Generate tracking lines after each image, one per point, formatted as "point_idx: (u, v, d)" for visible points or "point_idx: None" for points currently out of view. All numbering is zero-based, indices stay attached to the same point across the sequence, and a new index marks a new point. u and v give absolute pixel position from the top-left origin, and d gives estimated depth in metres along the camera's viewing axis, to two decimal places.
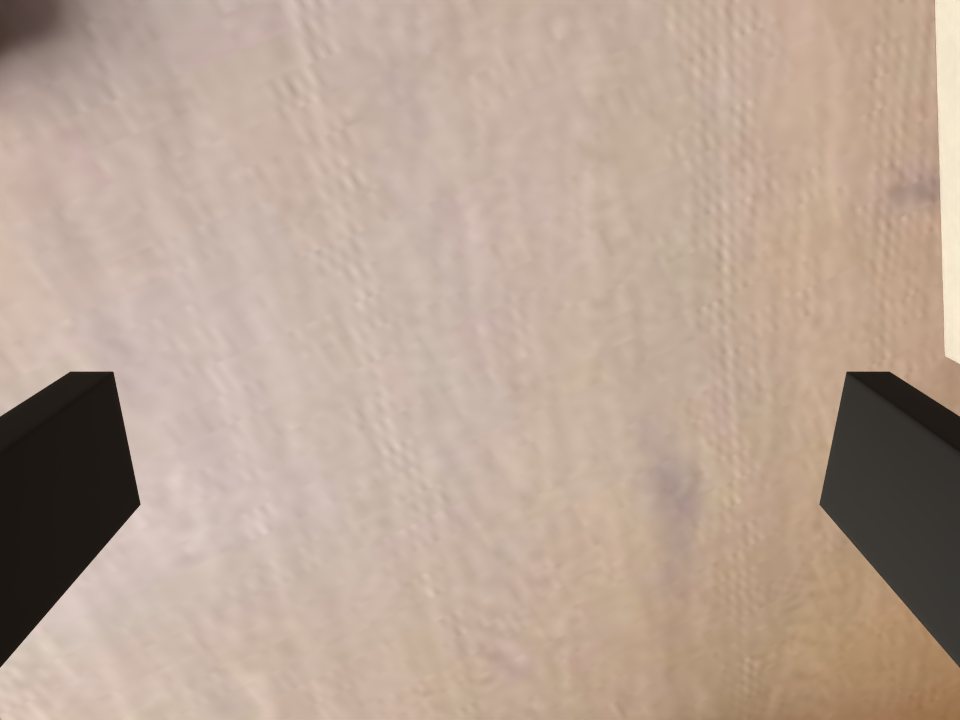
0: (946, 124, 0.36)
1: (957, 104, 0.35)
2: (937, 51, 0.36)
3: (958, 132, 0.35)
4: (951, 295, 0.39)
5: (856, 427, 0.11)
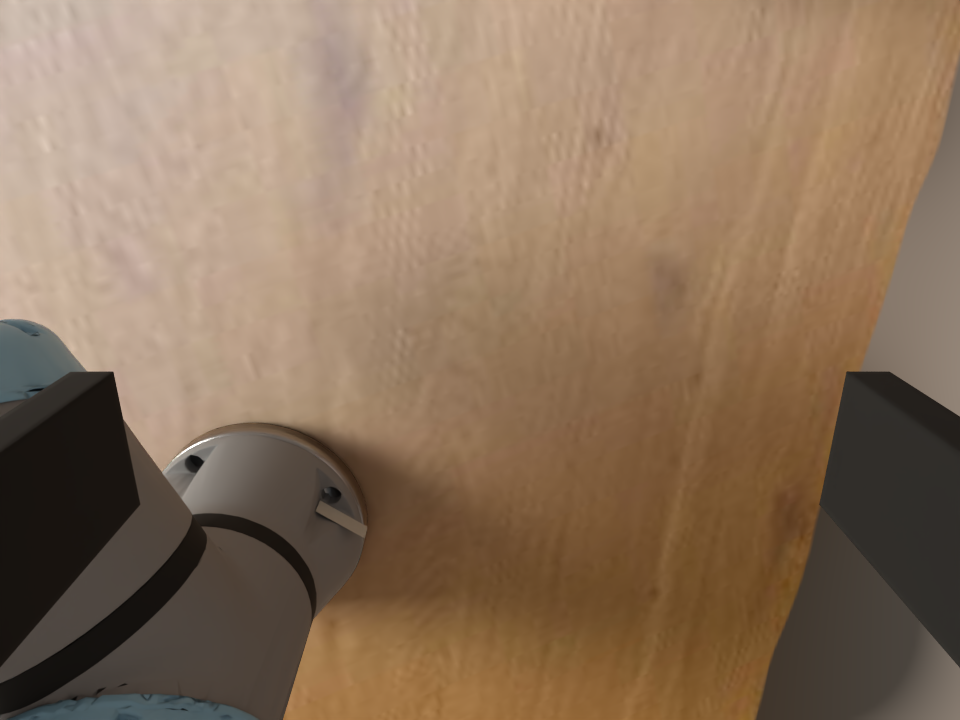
0: None
1: None
2: None
3: None
4: None
5: (856, 427, 0.11)
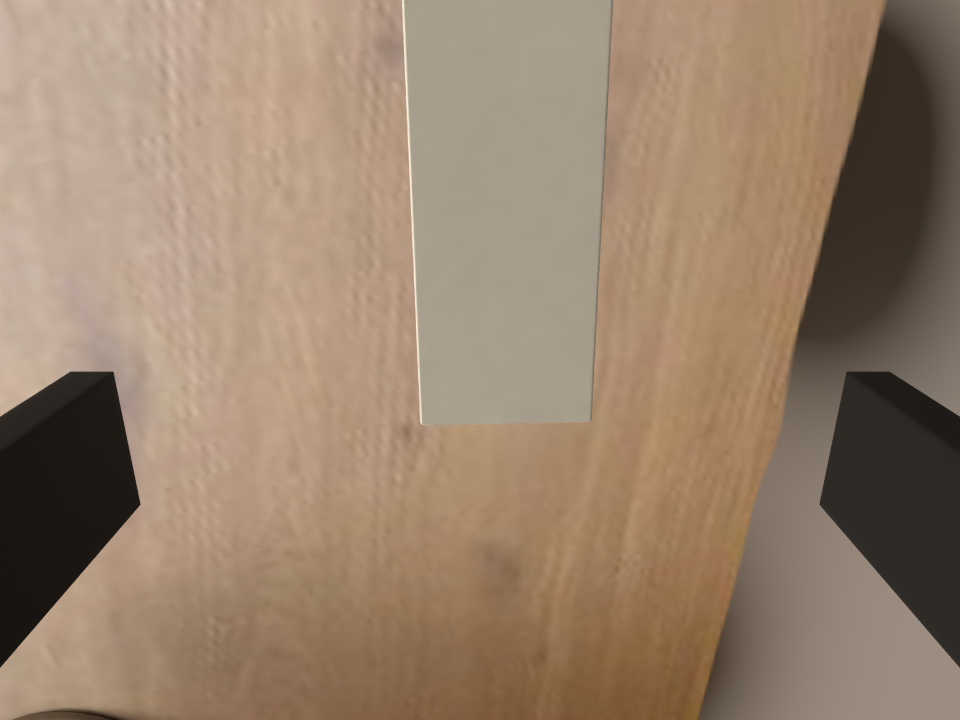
0: None
1: None
2: None
3: None
4: None
5: (856, 427, 0.11)
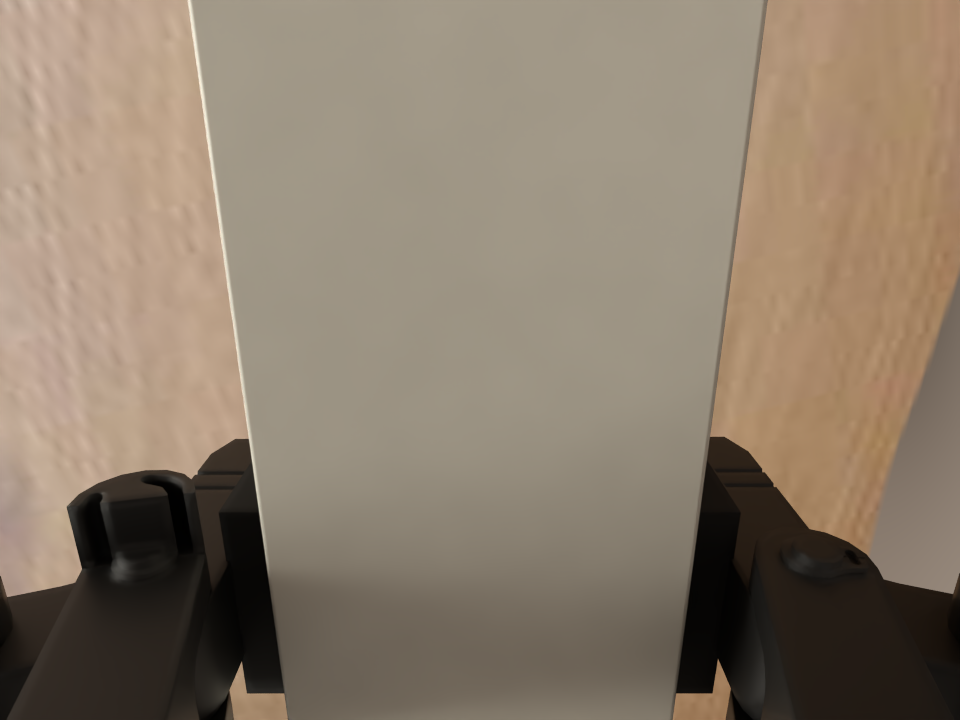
0: None
1: None
2: None
3: None
4: None
5: None
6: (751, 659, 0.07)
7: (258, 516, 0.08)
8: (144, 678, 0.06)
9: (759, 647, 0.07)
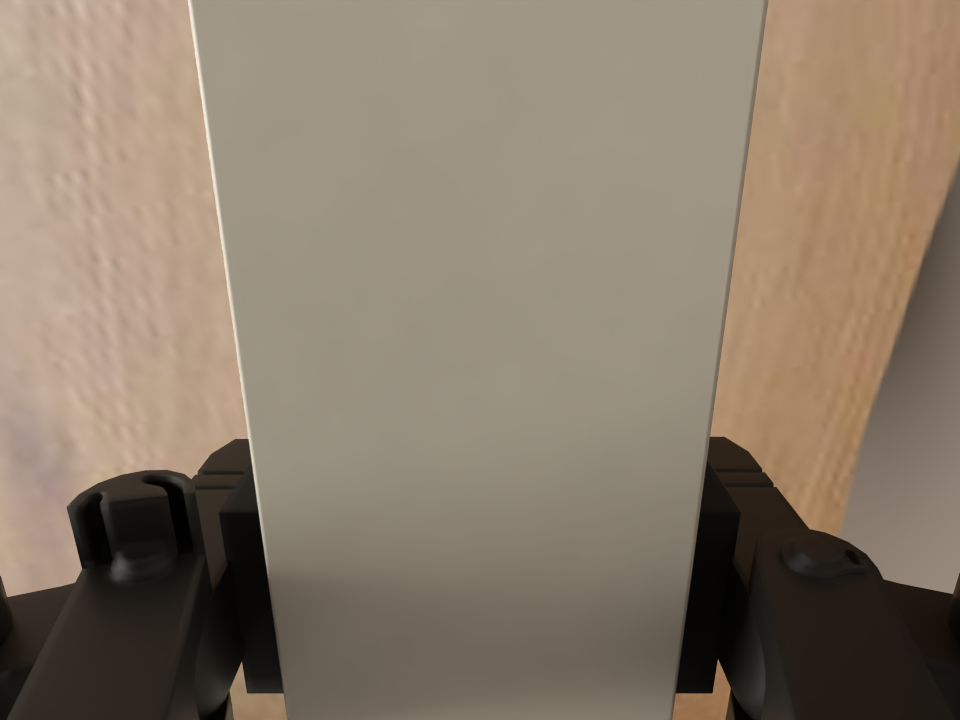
0: None
1: None
2: None
3: None
4: None
5: None
6: (751, 659, 0.07)
7: (258, 516, 0.08)
8: (144, 678, 0.06)
9: (759, 647, 0.07)
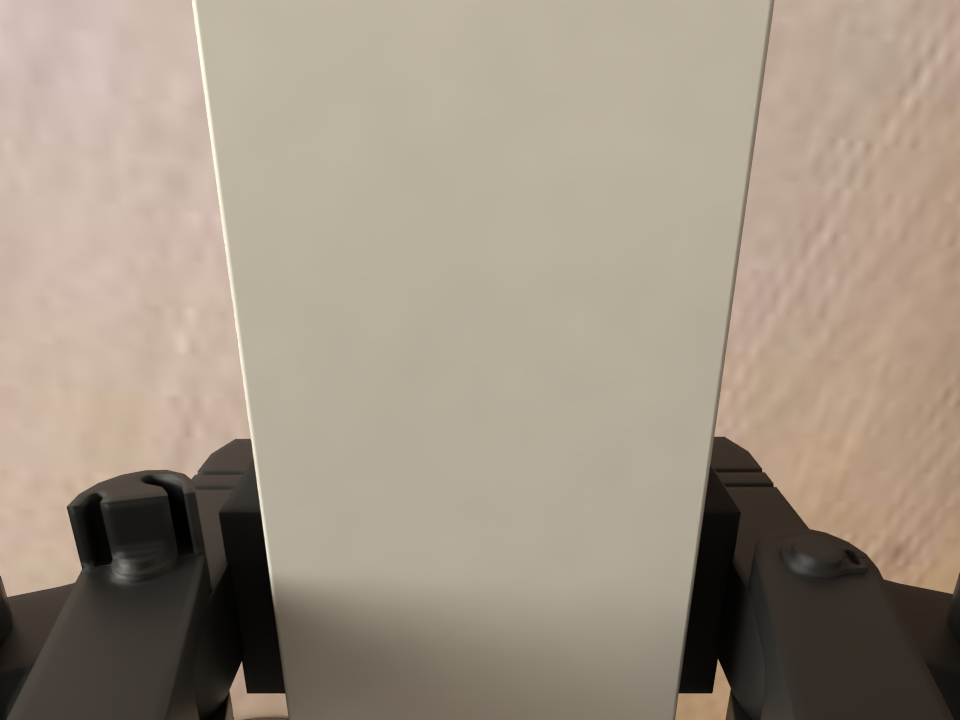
0: None
1: None
2: None
3: None
4: None
5: None
6: (751, 659, 0.07)
7: (258, 516, 0.08)
8: (144, 678, 0.06)
9: (759, 647, 0.07)
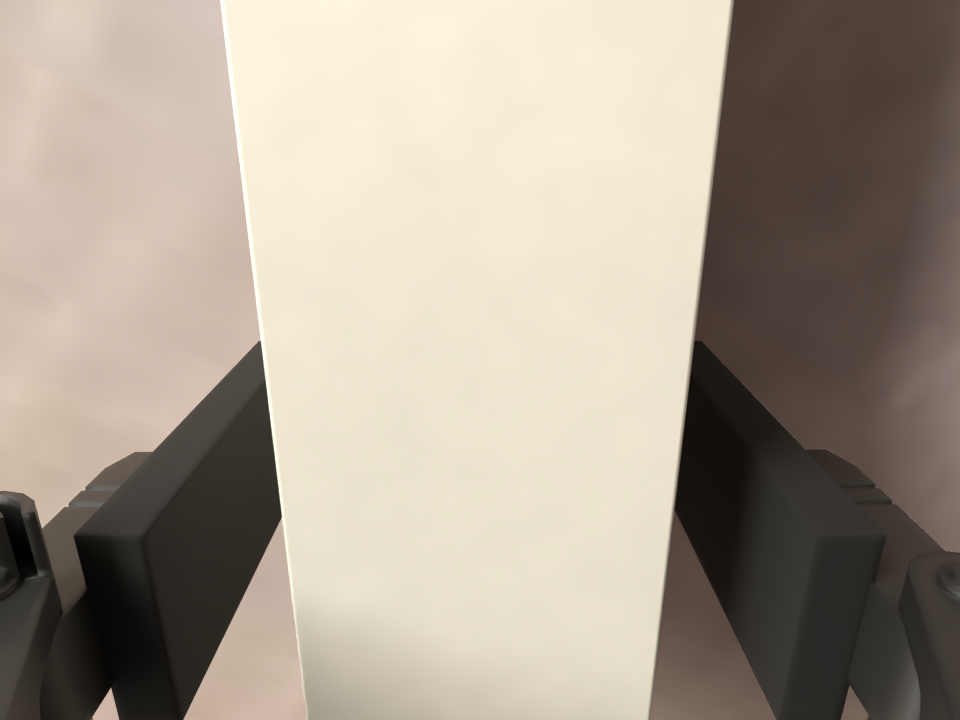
0: None
1: None
2: None
3: None
4: None
5: None
6: (897, 685, 0.07)
7: (116, 539, 0.07)
8: None
9: (908, 673, 0.07)
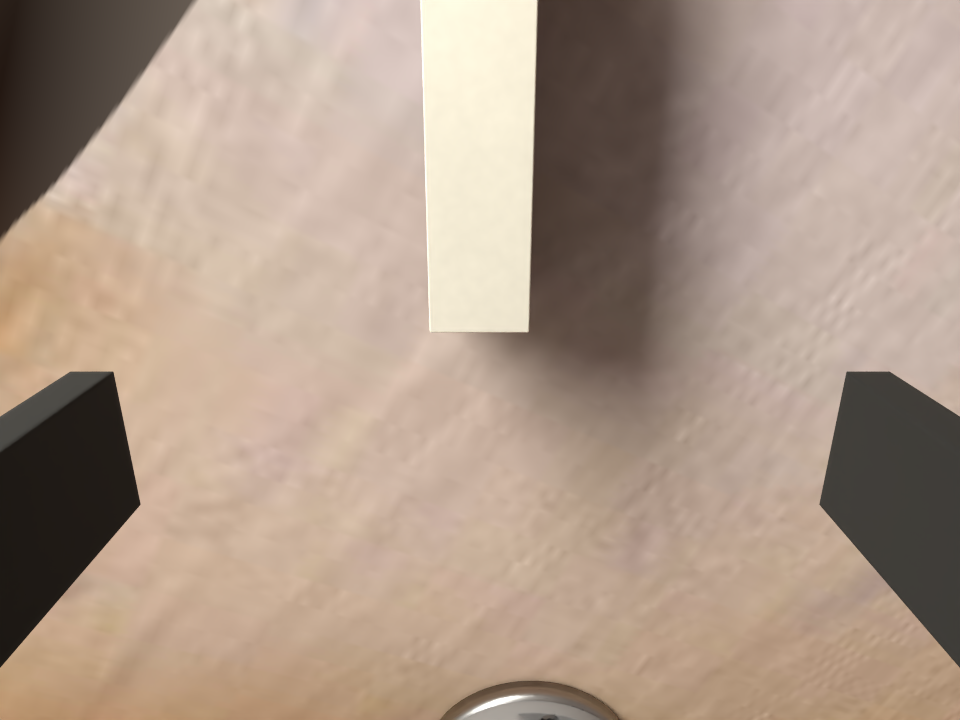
0: None
1: None
2: None
3: None
4: None
5: (856, 427, 0.11)
6: None
7: None
8: None
9: None
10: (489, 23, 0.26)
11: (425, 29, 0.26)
